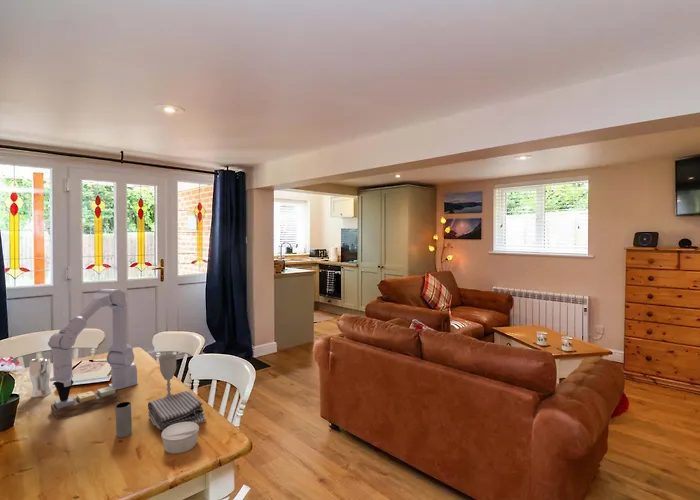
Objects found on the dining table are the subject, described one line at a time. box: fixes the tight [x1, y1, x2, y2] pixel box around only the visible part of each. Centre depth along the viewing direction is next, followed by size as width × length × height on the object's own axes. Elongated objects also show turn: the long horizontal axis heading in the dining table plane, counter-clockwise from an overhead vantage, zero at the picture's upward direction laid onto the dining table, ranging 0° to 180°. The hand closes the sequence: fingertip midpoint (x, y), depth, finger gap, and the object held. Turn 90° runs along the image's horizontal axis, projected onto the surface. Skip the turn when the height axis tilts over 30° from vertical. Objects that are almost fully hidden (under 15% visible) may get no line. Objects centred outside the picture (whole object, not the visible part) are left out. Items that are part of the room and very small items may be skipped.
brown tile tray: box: [50, 390, 120, 421], centre depth 152 cm, size 21×11×3 cm, turn 137°
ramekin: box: [161, 422, 200, 455], centre depth 124 cm, size 11×11×5 cm
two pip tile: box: [76, 390, 95, 403], centre depth 152 cm, size 5×5×2 cm
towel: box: [147, 390, 207, 432], centre depth 141 cm, size 15×18×8 cm
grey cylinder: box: [114, 401, 133, 439], centre depth 131 cm, size 4×4×10 cm
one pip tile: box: [96, 385, 115, 397], centre depth 157 cm, size 5×5×2 cm
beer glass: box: [28, 356, 52, 399], centre depth 162 cm, size 7×7×15 cm
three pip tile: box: [54, 395, 74, 409], centre depth 147 cm, size 5×5×2 cm
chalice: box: [157, 353, 178, 398], centre depth 156 cm, size 7×7×18 cm
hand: (64, 400), depth 147 cm, fingers closed
